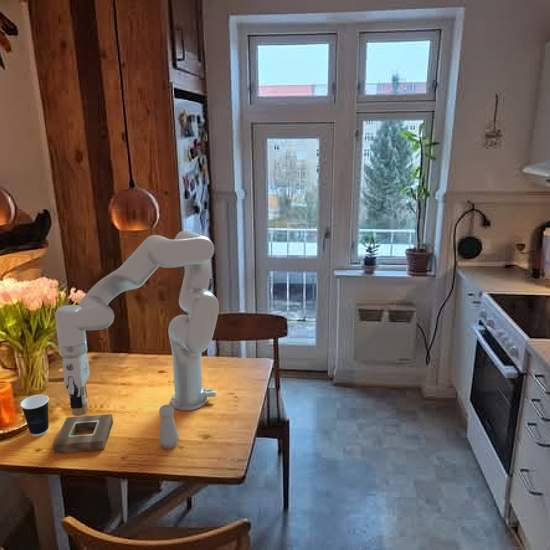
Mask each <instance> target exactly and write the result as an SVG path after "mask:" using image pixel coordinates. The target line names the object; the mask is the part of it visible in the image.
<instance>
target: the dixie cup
mask: <svg viewBox="0 0 550 550" xmlns="http://www.w3.org/2000/svg"><path fill="white" fill-rule="evenodd" d="M49 400H50V398H49V396H48V395H46V394H35V395H31V396H28V397H26V398H24V399H23V400H22V401H21V402H20V404H19V406H20V407H21V409H22V411H23V415H24V419H25V421H26V425H27V428H28V431H29V433H30V434H31V436H32V437H35V438H36V437H37V438H38V437H42V436H44V435H46V434H47V433H48V432H49V427H50V426H49V425H50V424H49Z"/></svg>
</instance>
